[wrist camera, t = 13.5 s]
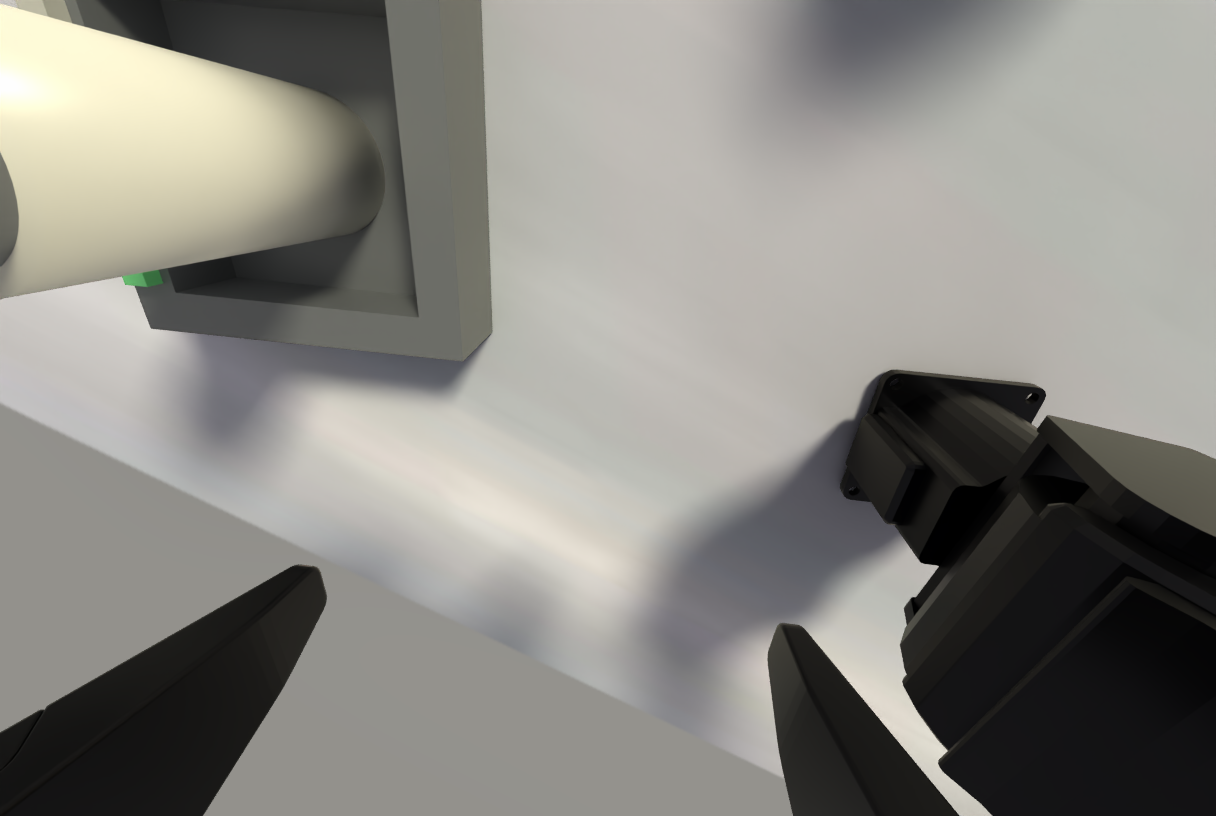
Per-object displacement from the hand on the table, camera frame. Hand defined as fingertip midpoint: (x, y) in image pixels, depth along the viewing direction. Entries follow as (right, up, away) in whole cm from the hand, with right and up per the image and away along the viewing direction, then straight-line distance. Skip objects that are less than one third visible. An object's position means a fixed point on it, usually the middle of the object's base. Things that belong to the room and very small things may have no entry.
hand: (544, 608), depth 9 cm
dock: (-9, +13, +9) cm, 18 cm away
